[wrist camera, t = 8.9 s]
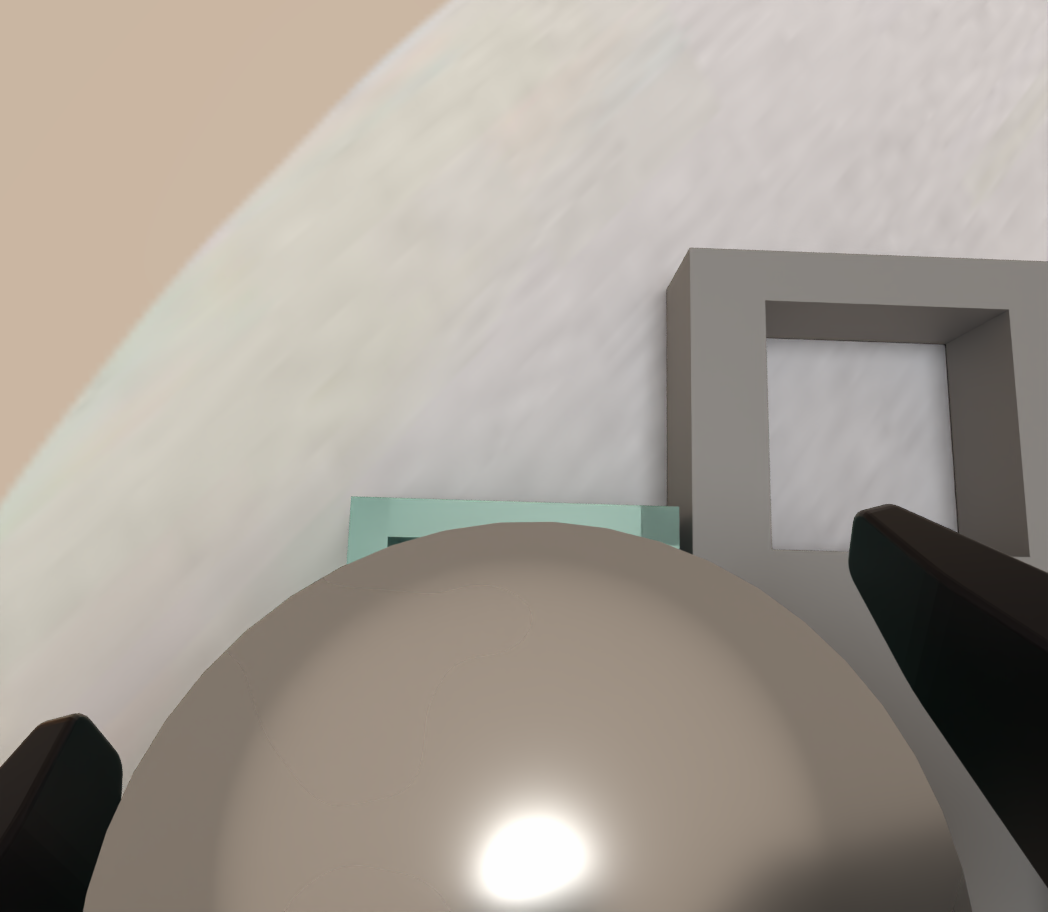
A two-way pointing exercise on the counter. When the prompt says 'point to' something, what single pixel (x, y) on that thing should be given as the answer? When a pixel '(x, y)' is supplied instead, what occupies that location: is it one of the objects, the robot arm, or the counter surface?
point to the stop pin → (529, 749)
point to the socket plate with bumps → (978, 447)
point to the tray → (492, 519)
